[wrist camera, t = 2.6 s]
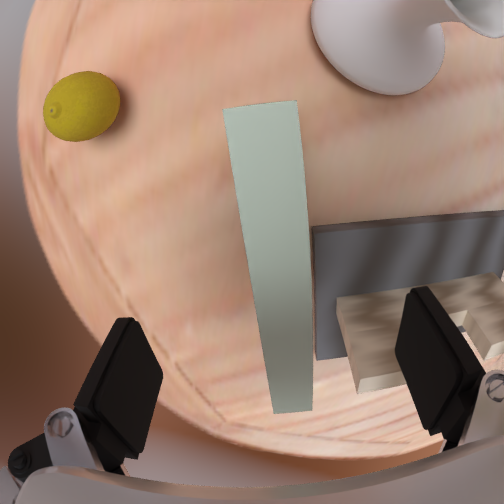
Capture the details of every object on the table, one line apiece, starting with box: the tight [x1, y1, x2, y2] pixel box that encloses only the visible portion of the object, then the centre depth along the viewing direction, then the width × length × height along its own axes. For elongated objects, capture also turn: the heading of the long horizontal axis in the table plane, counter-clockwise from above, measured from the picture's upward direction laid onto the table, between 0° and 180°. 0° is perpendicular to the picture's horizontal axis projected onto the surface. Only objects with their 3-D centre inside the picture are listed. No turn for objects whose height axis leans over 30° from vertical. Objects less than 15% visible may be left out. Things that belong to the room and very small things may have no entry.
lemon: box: [43, 71, 120, 142], centre depth 18 cm, size 6×6×8 cm
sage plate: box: [222, 100, 313, 414], centre depth 18 cm, size 14×2×16 cm, turn 8°
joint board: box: [312, 210, 504, 394], centre depth 24 cm, size 24×16×12 cm, turn 98°
